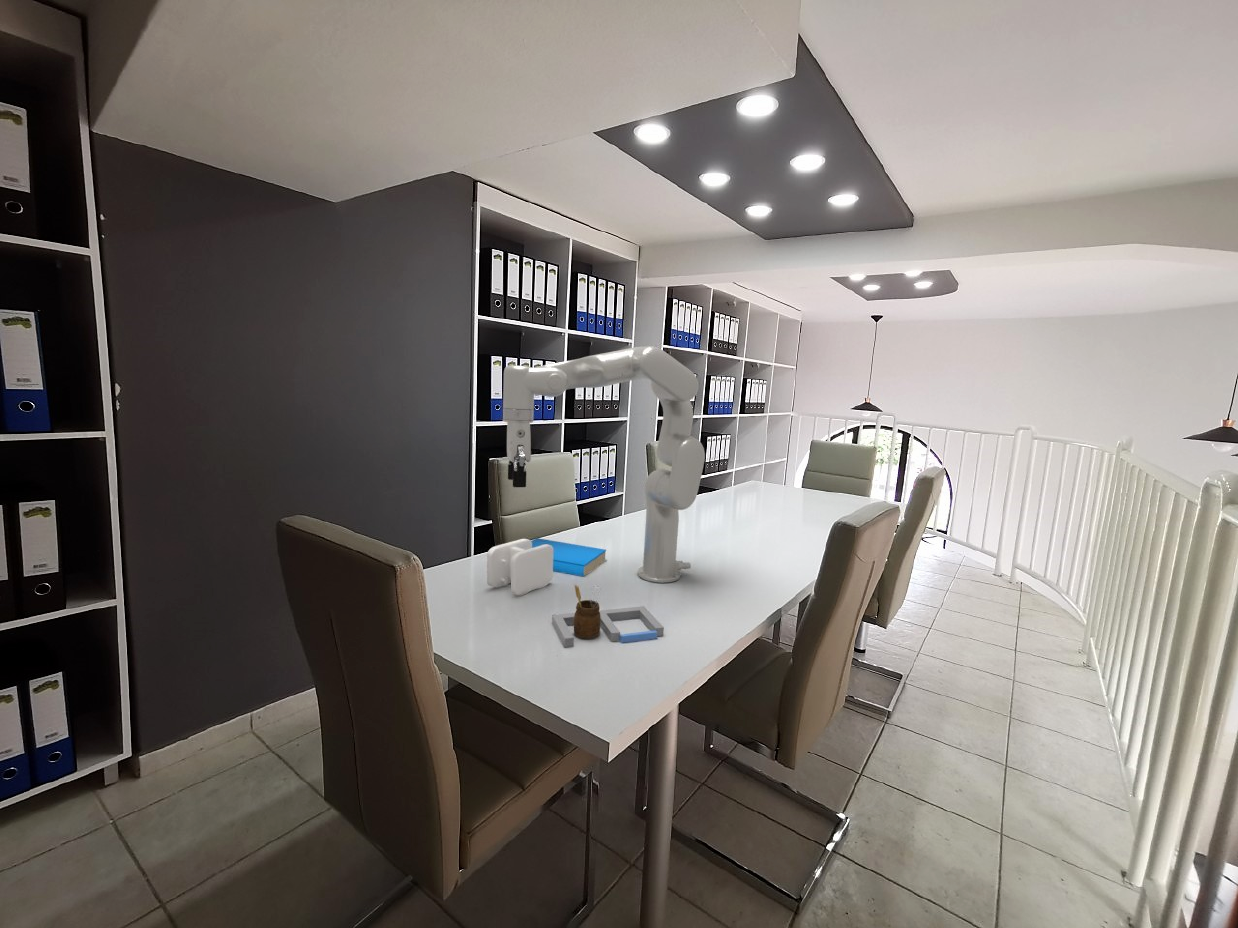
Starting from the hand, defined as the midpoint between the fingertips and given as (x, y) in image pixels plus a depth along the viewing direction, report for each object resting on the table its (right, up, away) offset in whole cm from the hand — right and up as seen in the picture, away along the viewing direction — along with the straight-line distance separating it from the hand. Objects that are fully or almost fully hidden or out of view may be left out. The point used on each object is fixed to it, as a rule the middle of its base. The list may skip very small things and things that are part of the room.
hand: (516, 483), depth 141 cm
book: (+7, -26, +31) cm, 41 cm away
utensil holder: (+19, -34, -16) cm, 42 cm away
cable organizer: (-1, -29, +9) cm, 30 cm away
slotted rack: (+23, -33, -13) cm, 43 cm away
